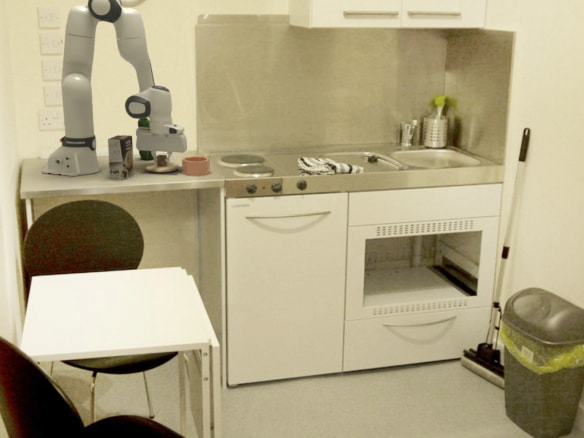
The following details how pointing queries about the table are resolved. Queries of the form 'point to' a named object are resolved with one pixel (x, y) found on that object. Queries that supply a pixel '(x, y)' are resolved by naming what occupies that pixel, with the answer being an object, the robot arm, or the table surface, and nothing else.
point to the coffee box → (121, 157)
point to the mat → (163, 172)
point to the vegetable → (143, 154)
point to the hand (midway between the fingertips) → (162, 162)
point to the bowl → (196, 166)
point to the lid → (162, 165)
